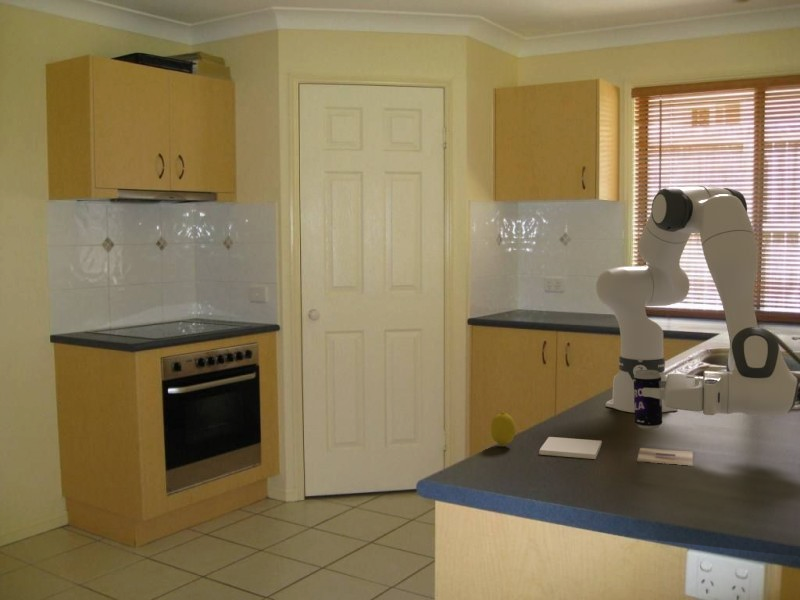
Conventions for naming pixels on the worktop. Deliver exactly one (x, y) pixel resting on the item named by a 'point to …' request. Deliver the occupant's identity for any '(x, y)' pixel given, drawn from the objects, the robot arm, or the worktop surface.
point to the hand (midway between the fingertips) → (643, 388)
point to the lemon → (503, 428)
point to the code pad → (665, 456)
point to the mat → (571, 447)
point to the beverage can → (647, 400)
